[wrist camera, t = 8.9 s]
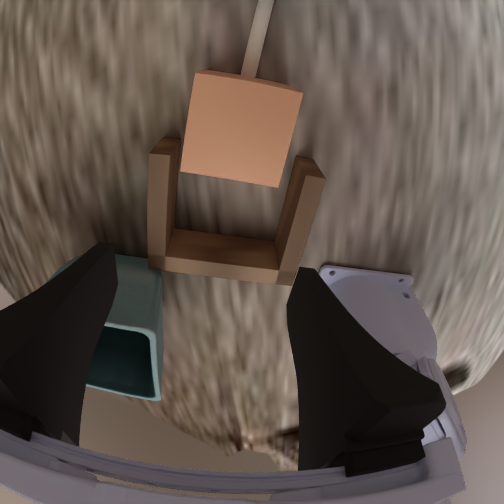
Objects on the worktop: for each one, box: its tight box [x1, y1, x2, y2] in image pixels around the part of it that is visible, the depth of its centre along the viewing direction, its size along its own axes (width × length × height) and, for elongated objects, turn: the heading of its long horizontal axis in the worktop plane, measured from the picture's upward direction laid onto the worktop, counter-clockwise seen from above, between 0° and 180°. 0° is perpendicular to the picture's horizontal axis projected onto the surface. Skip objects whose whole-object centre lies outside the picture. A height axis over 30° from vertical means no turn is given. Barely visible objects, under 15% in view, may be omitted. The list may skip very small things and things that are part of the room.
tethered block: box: [180, 0, 303, 188], centre depth 13 cm, size 5×14×6 cm, turn 168°
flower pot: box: [45, 254, 164, 401], centre depth 21 cm, size 9×9×9 cm
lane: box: [147, 137, 326, 286], centre depth 20 cm, size 10×8×4 cm
